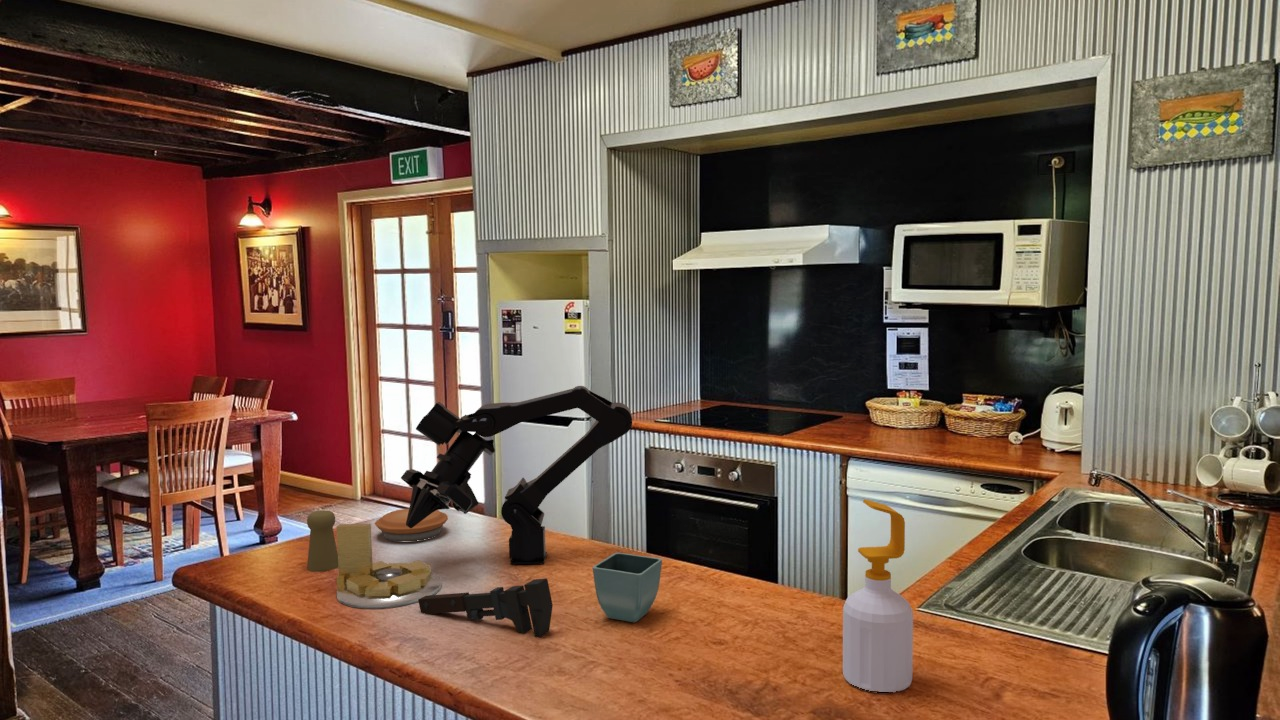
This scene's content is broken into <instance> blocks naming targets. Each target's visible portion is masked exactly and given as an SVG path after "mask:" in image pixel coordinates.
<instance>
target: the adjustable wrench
mask: <svg viewBox="0 0 1280 720" xmlns="http://www.w3.org/2000/svg"><path fill="white" fill-rule="evenodd" d="M418 601H419V602H418V605H419V609H420V613H421V614H424V613H425V615H431V614H433V615H434V614H447V613H459V612H461V613H463V612H466V617H467V618H466V619H467V620H473V621H479V620H482V619H483V618H484V617H495V621H502V620H504V619H508V620H510V621H512V623H513V625H514V627H515V629H516V630H517V632H518V633H519V634H522V635H525V634H527V633H528V632H530V631H532V630H533V634H534V637H535V638H537V637H538V639H540V638H542V637H543V636H544V635H546V634H547V632H548V633H549V632H550V627H551V621H552V613H553V607H554V606H553V601H552V596H551V591H550V586H549V580H548V578H538V579H537V578H535V579H532V580H531V581H529V582H527V583H525V584H524V585H513V586H510V587H509V588H507V589H505V590H504V586H500V587H499V586H498V587H495V588H494V589H491V590H490V591H489V592H482V593H469V592H456V593H454V592H453V593H442V594H441V593H440V594H435V595H428V596H424V597H422V598H420V599H418Z"/></svg>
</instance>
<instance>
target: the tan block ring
mask: <svg viewBox="0 0 1280 720" xmlns="http://www.w3.org/2000/svg"><path fill="white" fill-rule="evenodd" d="M336 543H337V544H336V548H337V553H338V567H337V568H338V575H345V584H347V589H348V590H349V591H351V592H353V593H355V594H357V595H361V594H365V596H391V594H392V593H393V592H394V593H396V594H398V595H399V594H403V593H406V592H410V591H413V590H417V589H420V588H421V586H426V584H427V583H428V582H429V580H430V579H431V578H432V575H431V572H432V571H431V565H430V564H427V563H425V562H422V561H420V560H415V561H412V562H390V563H387V562H384V561H382V560H381V561H376V562H373V546H372V545H373V543H372V524H371V523H339V524H338V525H337V526H336ZM389 568H397V569H401V570H402V576H398V577H394V578H391V579H387V582H379V580H378V579H377V574H376V573H377V572H378V571H380V570H384V569H389Z"/></svg>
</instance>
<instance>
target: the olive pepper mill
mask: <svg viewBox="0 0 1280 720" xmlns="http://www.w3.org/2000/svg"><path fill="white" fill-rule="evenodd" d="M306 524H307V527H308V528H309V531H310V533H309V540H308V541H309V544H308V554H307V564H306V565H307V566H306V570H307V571H309V572H314V573H317V572H321V573H322V572H327V571H332V570H335V569H337V568H338V549H337V544H336V543H337V542H336V539H335V532H334V528H333V527H334V526H335V524H336V516H335V514H334V512H333V511H331V510H328V509H326V510H325V509H323V510H322V509H321V510H320V509H319V510H316V511H312V512H311V513H309V514H308V516H307V518H306Z"/></svg>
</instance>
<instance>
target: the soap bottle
mask: <svg viewBox="0 0 1280 720" xmlns="http://www.w3.org/2000/svg"><path fill="white" fill-rule="evenodd" d="M862 503H863V504H865V506H868V507H869V508H870V509H873V510H875V511H878V512H882V513H886V514H889V516H890V540H889V543H888V544H887V545H884V546H864V547H859V548H857V552H858V553H859V555H861V556H862V557H863V558H864V559H866V560H867V562H869V563H871V568H869V569H868V568H867V570H865V571H864V572H865V573H864V574H865V575H864V576H865V578H864V580H865V581H864V583H865V584H864V586H863V588H860V589H858V590H856V591H854V592H853V593H852V594H850V595H848V597H847V598H846V599H845V602H844V605H843V607H842V673H843V677H844V680H845V681H846V682H848V683H849V684H850V685H851V684H852V685H851V686H853V685H854V686H853V687H855V686H857V687H859V688H858V689H860V688H862V689H865V690H864V691H866V690H869V691H868V692H870V691H879V692H893V693H896V691H898V692H901V691H905V690H906V689H908V688H909V687H910V686H911V685H912V681H913V657H914V656H913V652H914V650H913V649H914V647H913V645H914V612H913V609H912V606H911V604H910V602H909V601H908V600H907V599H905V597H904V596H903V595H901V594H900V593H898V592H896V591H895V590H893V589H892V582H891V581H892V576H891V575H892V573H891V572H890V571H889V570H887V569H885V565H886V564H888V563H889V562H890V560H891V559H892V560H893V559H899V558H901V557H902V556H903V555H904V554H905V549H906V547H905V546H906V545H905V541H906V540H905V539H906V535H905V534H906V531H905V530H906V528H905V527H906V526H905V525H906V522H905V517H903V515H902V514H900V513H899V512H898V511H896V510H894V509H893V508H892V507H891V506H888V505H887V504H884V503H880V502H878V501H873V500H870V499H865V498H864V499H863V500H862ZM857 687H856V688H857ZM862 689H861V690H862Z"/></svg>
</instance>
